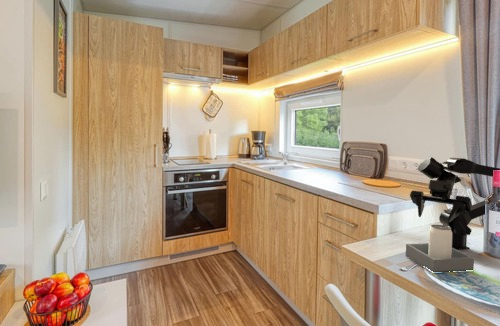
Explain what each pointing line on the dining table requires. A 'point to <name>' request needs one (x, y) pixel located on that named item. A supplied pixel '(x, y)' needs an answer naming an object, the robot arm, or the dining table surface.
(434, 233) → the can
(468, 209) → the robot arm
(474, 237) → the dining table surface
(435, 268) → the tote
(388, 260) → the dining table surface
